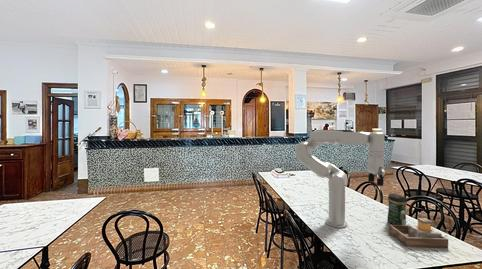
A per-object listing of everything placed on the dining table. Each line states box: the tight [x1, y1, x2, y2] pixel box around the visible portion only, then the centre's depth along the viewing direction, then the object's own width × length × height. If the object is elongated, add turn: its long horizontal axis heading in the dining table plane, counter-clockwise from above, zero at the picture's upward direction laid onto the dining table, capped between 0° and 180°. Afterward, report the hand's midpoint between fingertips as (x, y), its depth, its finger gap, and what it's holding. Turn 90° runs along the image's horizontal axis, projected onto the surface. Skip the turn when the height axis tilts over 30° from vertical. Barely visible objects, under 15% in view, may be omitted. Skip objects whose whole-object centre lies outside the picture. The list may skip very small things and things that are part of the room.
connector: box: [416, 217, 433, 231], centre depth 125 cm, size 4×4×10 cm
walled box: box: [388, 224, 449, 249], centre depth 125 cm, size 16×20×6 cm
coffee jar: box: [386, 192, 408, 225], centre depth 146 cm, size 10×8×19 cm
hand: (375, 183), depth 133 cm, fingers open, 9 cm apart
